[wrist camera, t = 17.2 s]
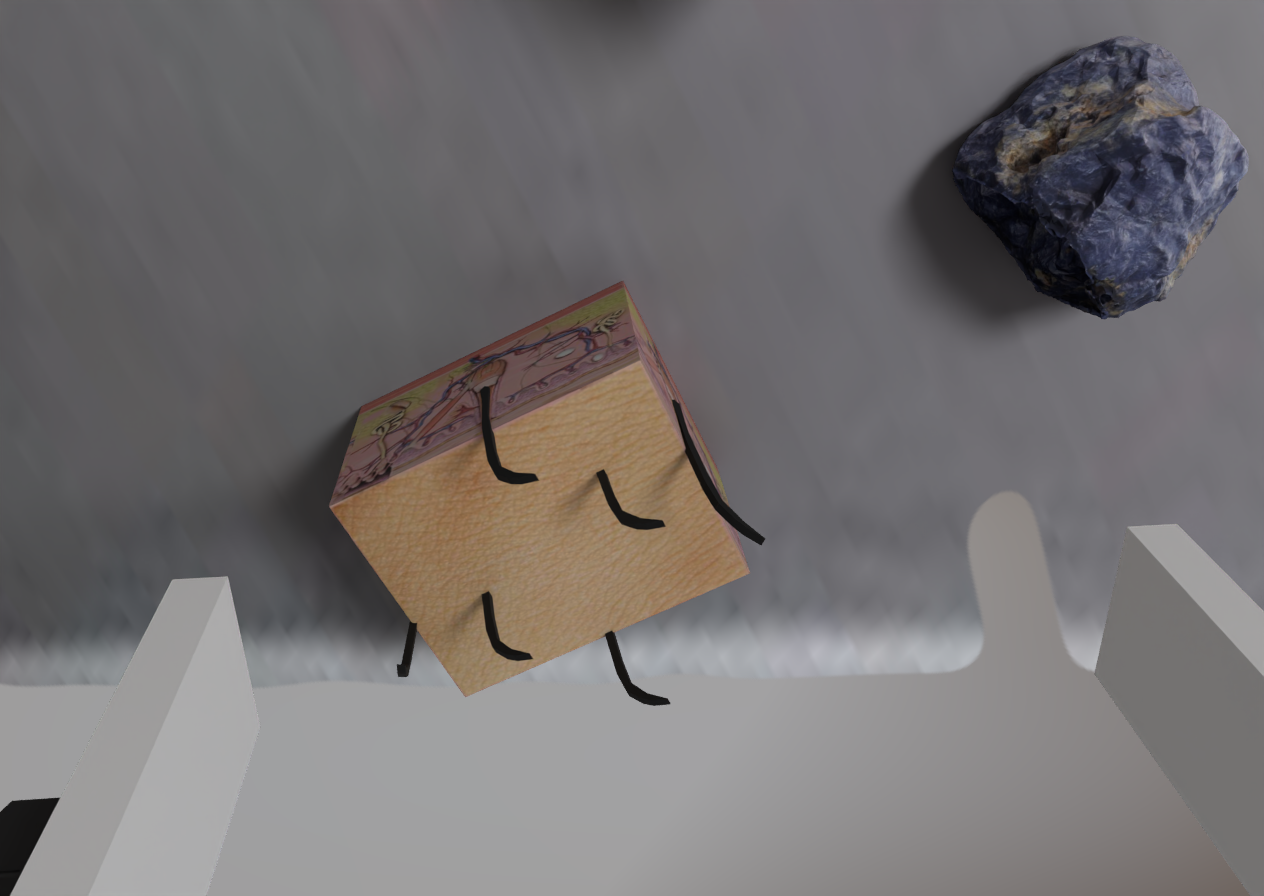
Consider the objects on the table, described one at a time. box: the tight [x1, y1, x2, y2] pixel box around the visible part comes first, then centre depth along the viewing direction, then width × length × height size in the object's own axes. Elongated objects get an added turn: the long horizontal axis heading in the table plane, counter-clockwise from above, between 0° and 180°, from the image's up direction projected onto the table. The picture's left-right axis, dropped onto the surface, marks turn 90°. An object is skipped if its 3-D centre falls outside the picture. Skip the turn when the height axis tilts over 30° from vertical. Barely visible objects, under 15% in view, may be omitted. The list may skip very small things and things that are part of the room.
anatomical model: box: [329, 281, 765, 706], centre depth 47 cm, size 16×11×15 cm
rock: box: [952, 36, 1249, 319], centre depth 47 cm, size 11×10×10 cm
